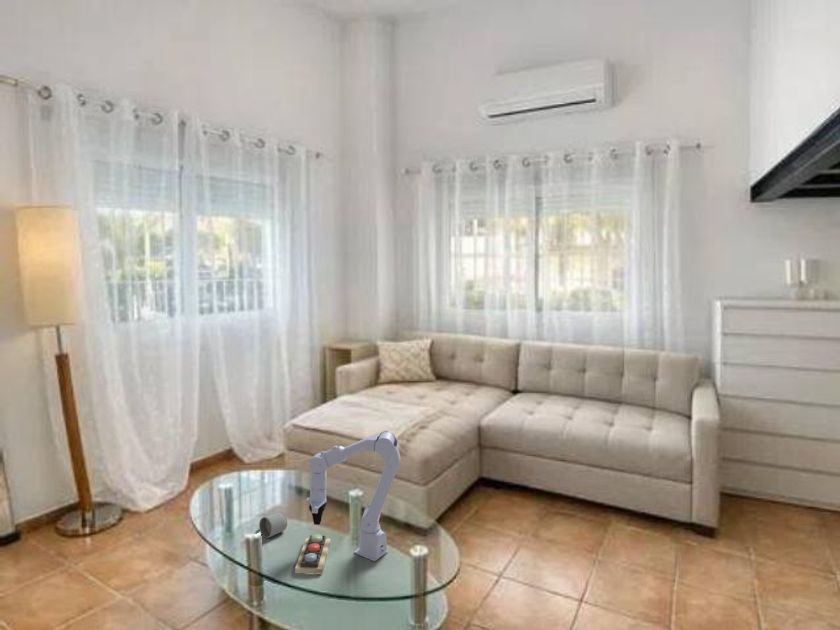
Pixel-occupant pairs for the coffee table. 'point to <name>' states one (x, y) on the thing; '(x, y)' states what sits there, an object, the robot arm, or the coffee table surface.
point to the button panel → (321, 557)
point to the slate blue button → (310, 558)
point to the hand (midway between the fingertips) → (317, 523)
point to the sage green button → (316, 538)
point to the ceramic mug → (272, 524)
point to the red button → (314, 547)
